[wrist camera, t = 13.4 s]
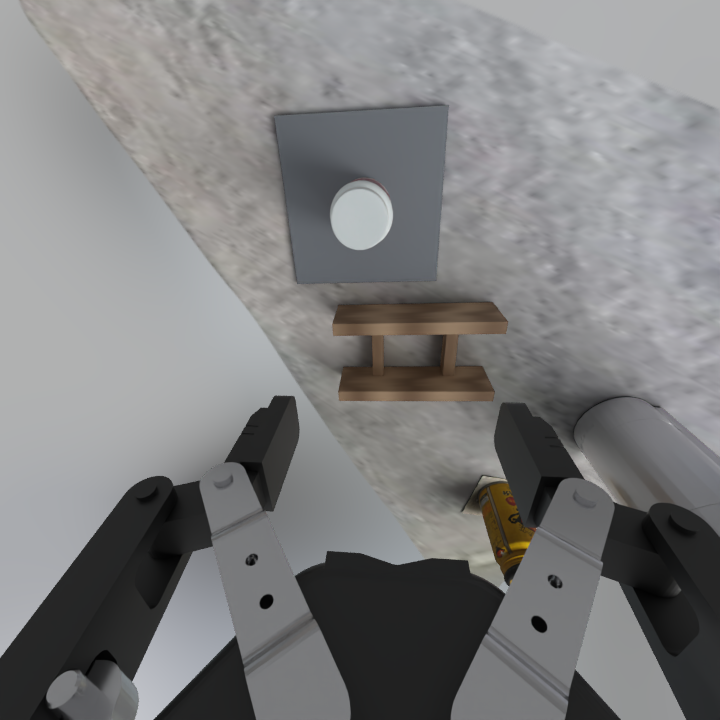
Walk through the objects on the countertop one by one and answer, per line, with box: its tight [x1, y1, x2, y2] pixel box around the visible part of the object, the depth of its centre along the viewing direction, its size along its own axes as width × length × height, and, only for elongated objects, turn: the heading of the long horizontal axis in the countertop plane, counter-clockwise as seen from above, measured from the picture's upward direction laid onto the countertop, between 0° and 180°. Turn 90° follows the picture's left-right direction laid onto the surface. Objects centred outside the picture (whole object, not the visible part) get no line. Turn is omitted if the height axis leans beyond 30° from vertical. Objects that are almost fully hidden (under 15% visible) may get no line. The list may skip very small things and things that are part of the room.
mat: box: [274, 105, 449, 284], centre depth 31 cm, size 14×14×1 cm
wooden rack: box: [332, 302, 508, 401], centre depth 35 cm, size 16×9×5 cm, turn 92°
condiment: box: [462, 476, 536, 586], centre depth 44 cm, size 7×8×12 cm
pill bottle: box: [330, 178, 393, 250], centre depth 27 cm, size 5×5×8 cm
